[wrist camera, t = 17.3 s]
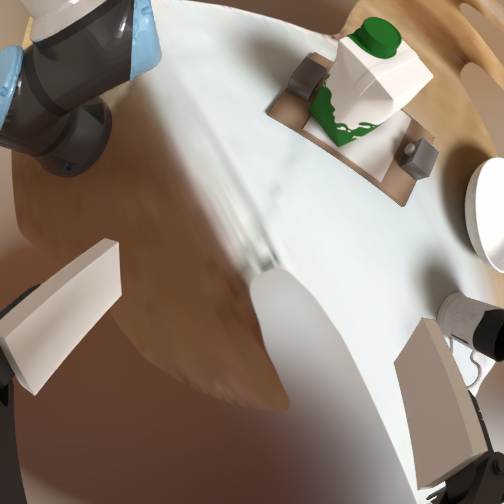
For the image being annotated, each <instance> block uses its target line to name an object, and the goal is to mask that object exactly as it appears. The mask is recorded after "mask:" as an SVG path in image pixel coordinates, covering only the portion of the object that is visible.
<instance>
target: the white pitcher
mask: <svg viewBox="0 0 504 504" xmlns="http://www.w3.org/2000/svg"><path fill="white" fill-rule="evenodd" d="M437 325H438V327H439V328H440V330H441V332H442V334H443V336H444V337H446V338H448V339H450V351H451V353H452V355H453V340H452V339H454V340H456V341H458V342H460V343H461V344H463V345H465V346H467V347H469V348H471V349H472V350H473V351H472V353H471V356H470V360H471V362H473V363H474V364H475V365H476V366H477V367H478V377H477V379H476V380H475V382H474V383H473V384H472V385H470V386H466V387H467V389H470V388H472V387H474V386H475V385H476V384H477V383H478V381H479V380H480V377H481V367H480V365H479V364H478V363H477V362H475V361H474V360H473V356H474V354H475V352H480V353H482V354H484V355H486V356H488V357H490V358H491V359H493V360H495V361H497V362H501V361H503V360H504V309H502V308H499V307H496V306H493V305H490V304H487V303H484V302H481V301H477V300H474V299H471V298H468V297H466V296H465V295H464V294H463V293H460V292H455V293H452V294H450V295H449V296H448V297H447V298H446V299H445V300H444V301H443V303H442V305H441V307H440V309H439V312H438V315H437Z"/></svg>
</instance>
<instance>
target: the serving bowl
mask: <svg viewBox="0 0 504 504" xmlns="http://www.w3.org/2000/svg"><path fill="white" fill-rule="evenodd" d="M465 218H466V225H467V230H468V234H469V237H470V240H471V243H472V245H473V247H474V249H475V251H476V253H477V254H478V256H479V257H480V259H481V260H482V261H483V262H484V263H485V264H486V265H487V266H489V267H490V268H492V269H494V270H496V271H498V272H501V273H504V159H503V158H500V157H493V158H490V159H488V160H486V161H485V162H483V163H482V164H481V165H480V166H479V167H478V168H477V169H476V170H475V171H474V173H473V175H472V177H471V179H470V181H469V184H468V187H467V192H466V198H465Z"/></svg>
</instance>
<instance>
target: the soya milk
mask: <svg viewBox="0 0 504 504" xmlns="http://www.w3.org/2000/svg"><path fill="white" fill-rule="evenodd" d="M433 77H434V76H433V75H432V74H431V72H430V71H429V70H428V69H427V68H426V66H425V65H424V64H423V63H422V62H421V60H420V59H419V56H418V55H417V54H416V53H415V52H414V51H413V50H412V49H411V48H410V47H409V46H408V45H407V44H406V43H405V42H404V41H403V40H402V37H401V35H400V33H399V31H398V30H397V29H396V28H395V27H394V26H393V25H392V24H391V23H389V22H387V21H386V20H384V19H381V18H377V17H369V18H367V19H366V20H365V21H364V23H363V24H362V26H361V28H359V29H357V30H356V31H355V32H354V33H352V34H349V35H347V37H345V38H342V39H340V40H339V41H338V50H337V57H336V59H335V61H334V63H333V65H332V67H331V69H330V71H329V73H328V75H327V77H326V79H325V81H324V83H323V85H322V87H321V89H320V91H319V92H318V94H317V96H316V98H315V100H314V101H313V103H312V105H311V107H310V109H309V112H310V113H311V114H312V115H313V117H314V118H315V119H316V120H317V121H318V123H319V124H320V125H321V126H322V127H323V129H324V130H325V131H326V132H327V134H328V135H329V136H330V137H331V139H332V140H333V141H334V142H335V144H336V145H337V146H338V147H341V146H343V145H345V144H347V143H349V142H352V141H354V140H356V139H358V138H361V137H363V136H365V135H366V134H368V133H369V132H371V131H373V130H374V129H376V128H377V127H379V126H380V125H381V124H382V123H384V122H385V121H386V120H387V119H389V118H390V117H391V116H392V115H394V114H395V113H396V112H397V111H399V110H400V109H401V108H402V107H403V106H404V105H406V104H407V103H408V102H409V101H410V100H411V99H412V98H413V97H414V96H415V95H416V94H417V93H418V92H419V91H420V90H421V89H422V88H423V87H424V86H425V85H426V84H427V83H428V82H429V81H430V80H431V79H432V78H433Z"/></svg>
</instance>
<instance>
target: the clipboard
mask: <svg viewBox="0 0 504 504" xmlns="http://www.w3.org/2000/svg"><path fill="white" fill-rule="evenodd" d="M332 65H333V62H332V61H330V60H328V59H327V58H325V57H323V56H321V55H319V54H318V53H316V52H314V54H313V55H312V56H311V57H310V59H309V58H307V57H306V58H305V59H304V61H303V62H302V63H301V64H300V66H299V67H298V68H297V70H296V71H295V72H294V73H293V75H292V76H291V77H290V80H289V84H288V87H287V88H286V90H285V91H284V92H283V94H282V95H281V97H280V98H279V99H278V101H277V102H276V103H275V105H274V106H273V107H272V109H271V110H270V112H269V113H268V116H270V117H272V118H273V119H275V120H277V121H279V122H280V123H282V124H284V125H285V126H287V127H289V128H290V129H292V130H294V131H295V132H297V133H299V134H300V135H302V136H304V137H305V138H307V139H308V140H310V141H312V142H313V143H315V144H316V145H318V146H319V147H321V148H322V149H324V150H325V151H327V152H328V153H330V154H331V155H333V156H334V157H336V158H337V159H339V160H340V161H342V162H343V163H345V164H346V165H347V166H349V167H350V168H352V169H353V170H354V171H356V172H357V173H359V174H360V175H361V176H363V177H364V178H365V179H367V180H368V181H369V182H371V183H372V184H373V185H375V186H376V187H377V188H379V189H380V190H381V191H382V192H384V193H385V194H386V195H387V196H389V197H390V198H391V199H393V200H394V201H395V202H396V203H397V204H399V205H400V206H401V207H404V206H405V205H406V203H407V201H408V199H409V196H410V194H411V192H412V190H413V188H414V186H415V184H416V181H417V180H419V179H423V178H426V177H429V176H430V173H431V171H432V169H433V166H434V164H435V161H436V159H437V156H438V153H439V152H438V151H437V150H436V149H435V148H434V147H433V146H432V144H433V141H434V138H435V137H434V136H433V135H431V134H430V133H429V132H428V131H427V130H426V129H425V128H424V127H423V126H421V125H420V124H419V123H418V122H417V121H416V120H414V119H413V118H412V117H411V116H410V115H408V114H407V113H406V112H405V111H403V110H402V109H400V110H399V111H397V112H396V113H395V114H394V115H392V116H391V117H390V118H389V119H387V120H386V121H385V122H384V123H382V124H381V125H380V126H379V127H377V128H376V129H374V130H373V131H371V132H369V133H368V134H366V135H365V136H363V137H361V138H358V139H356V140H354V141H352V142H349V143H347V144H345V145H343V146H341V147H338V146H337V145H336V144H335V142H334V141H333V140H332V139H331V137H330V136H329V135H328V134H327V132H326V131H325V130H324V129H323V127H322V126H321V125H320V124H319V123H318V121H317V120H316V119H315V118H314V117H313V115H312V114H311V113H310V112H309V109H310V107H311V105H312V103H313V101H314V100H315V98H316V96H317V94H318V92H319V91H320V89H321V87H322V85H323V83H324V81H325V79H326V77H327V75H328V73H329V71H330V69H331V67H332Z"/></svg>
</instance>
